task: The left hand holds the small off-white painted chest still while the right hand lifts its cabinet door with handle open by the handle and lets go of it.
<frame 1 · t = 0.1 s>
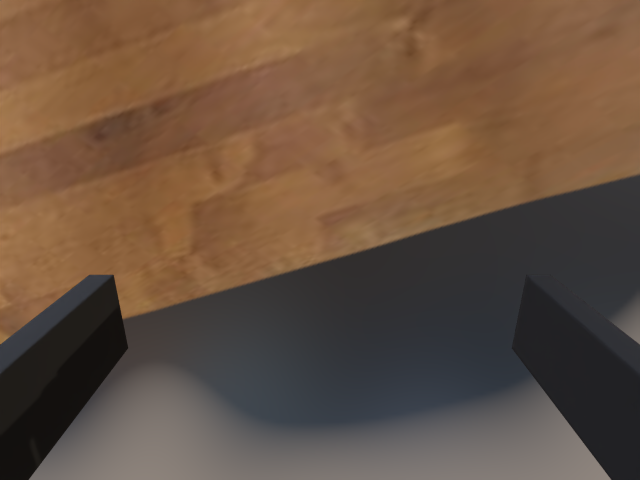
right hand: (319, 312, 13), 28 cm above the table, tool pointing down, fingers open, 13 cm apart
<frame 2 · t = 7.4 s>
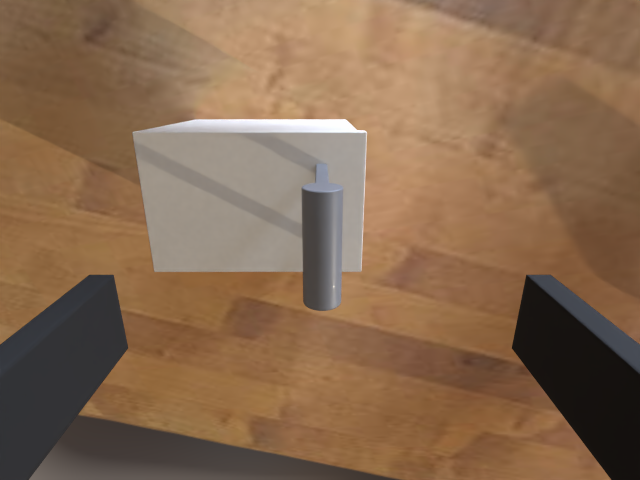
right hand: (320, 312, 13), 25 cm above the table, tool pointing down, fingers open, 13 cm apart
chest: (272, 170, 37), on the table
cabinet door with handle: (244, 223, 22), point 16 cm above the table, hinge at 0.0°
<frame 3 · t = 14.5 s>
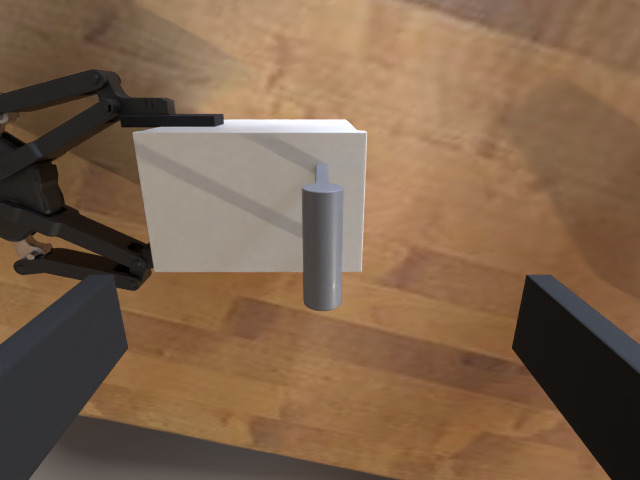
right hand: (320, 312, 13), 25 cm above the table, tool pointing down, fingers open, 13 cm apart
left hand: (224, 187, 30), fingers closed on chest, 9 cm apart
chest: (272, 170, 37), on the table, touching left hand
cabinet door with handle: (244, 223, 22), point 16 cm above the table, hinge at 0.0°
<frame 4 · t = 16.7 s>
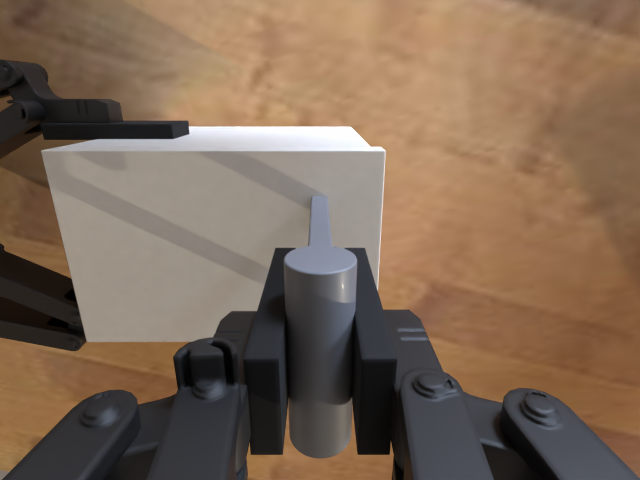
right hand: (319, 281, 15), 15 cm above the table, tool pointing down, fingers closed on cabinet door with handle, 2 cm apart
chest: (258, 190, 29), on the table, touching left hand
cabinet door with handle: (201, 290, 14), point 16 cm above the table, hinge at -0.1°, touching right hand
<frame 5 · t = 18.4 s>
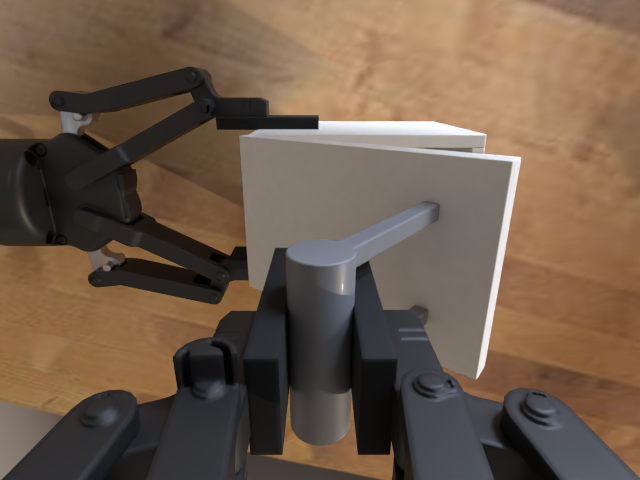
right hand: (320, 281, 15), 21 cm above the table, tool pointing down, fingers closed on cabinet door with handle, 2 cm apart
left hand: (318, 194, 28), fingers closed on chest, 9 cm apart
chest: (351, 175, 35), on the table, touching left hand
cabinet door with handle: (294, 264, 16), point 19 cm above the table, hinge at 37.8°, touching right hand
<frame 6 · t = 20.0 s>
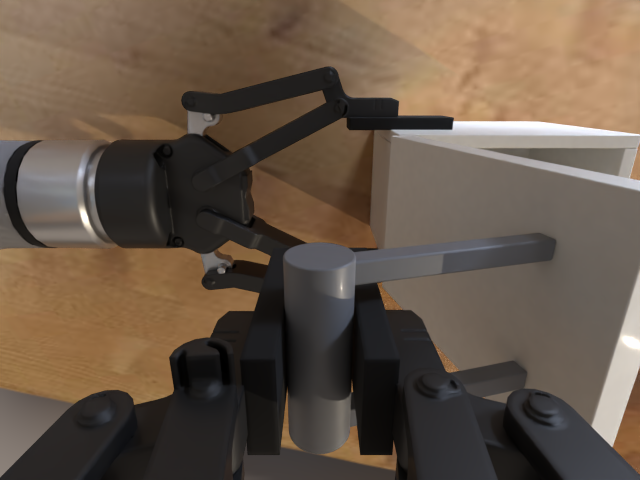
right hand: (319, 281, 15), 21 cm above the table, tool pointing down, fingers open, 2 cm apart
left hand: (438, 195, 28), fingers closed on chest, 9 cm apart
chest: (450, 176, 34), on the table, touching left hand
cabinet door with handle: (380, 272, 16), point 20 cm above the table, hinge at 74.0°
when the left hand's fingers open (7 cm above the table, at t = 23.8 s): chest stays where it is, on the table.
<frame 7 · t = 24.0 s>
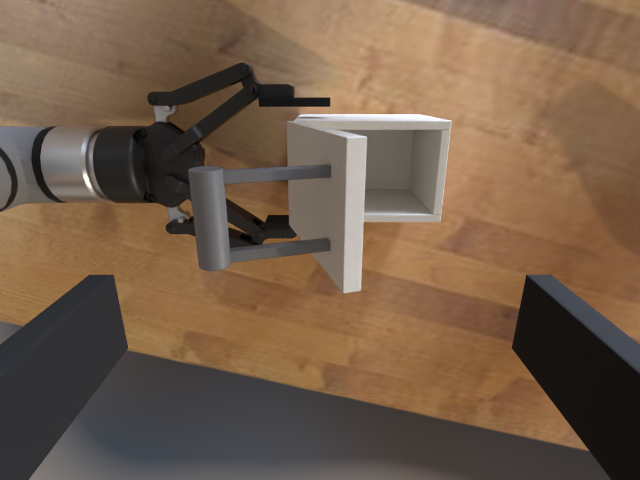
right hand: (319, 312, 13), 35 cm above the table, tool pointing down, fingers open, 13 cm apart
left hand: (329, 165, 39), fingers open, 11 cm apart
chest: (358, 155, 46), on the table
cabinet door with handle: (262, 196, 27), point 20 cm above the table, hinge at 72.6°
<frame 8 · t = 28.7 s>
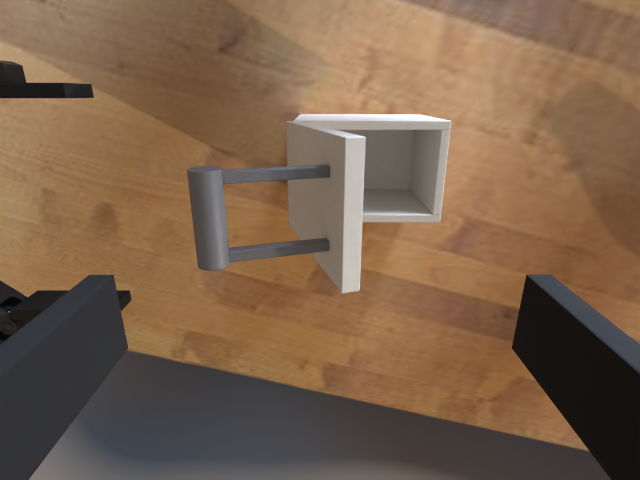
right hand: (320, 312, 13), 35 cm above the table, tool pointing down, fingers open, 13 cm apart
chest: (358, 155, 46), on the table
cabinet door with handle: (261, 196, 27), point 20 cm above the table, hinge at 72.5°
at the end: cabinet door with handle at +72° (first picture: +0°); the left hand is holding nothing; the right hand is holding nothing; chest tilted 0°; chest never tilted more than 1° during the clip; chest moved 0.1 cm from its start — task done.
